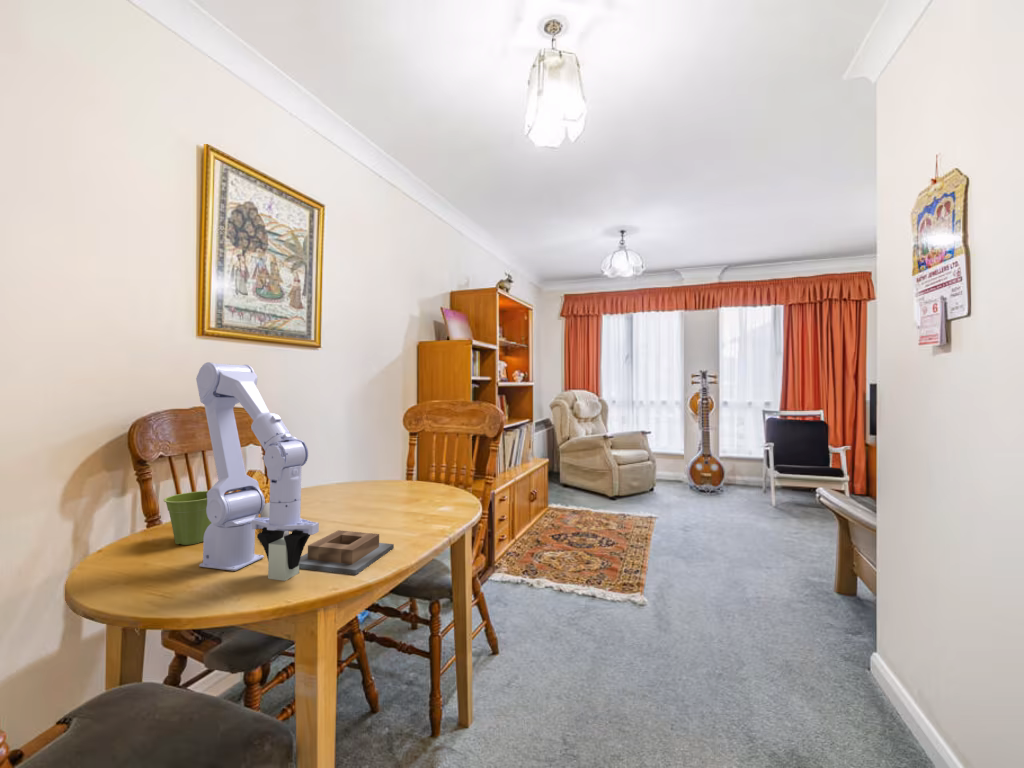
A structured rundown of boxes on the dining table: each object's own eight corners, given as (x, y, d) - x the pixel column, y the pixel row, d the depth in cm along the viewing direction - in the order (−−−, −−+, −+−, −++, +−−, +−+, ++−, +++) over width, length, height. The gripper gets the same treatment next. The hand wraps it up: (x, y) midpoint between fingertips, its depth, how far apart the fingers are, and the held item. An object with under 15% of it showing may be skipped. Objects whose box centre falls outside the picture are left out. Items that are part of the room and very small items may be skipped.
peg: (268, 578, 89) (268, 543, 89) (282, 570, 92) (283, 537, 93) (285, 580, 88) (285, 545, 88) (299, 572, 92) (299, 539, 92)
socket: (289, 567, 94) (289, 548, 94) (335, 542, 110) (335, 526, 110) (356, 574, 91) (356, 555, 91) (393, 548, 106) (394, 531, 106)
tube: (294, 526, 111) (283, 503, 131) (271, 522, 108) (264, 500, 129) (286, 547, 110) (276, 521, 131) (263, 544, 107) (257, 518, 128)
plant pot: (208, 530, 118) (208, 488, 118) (229, 538, 112) (230, 494, 112) (154, 542, 108) (155, 497, 109) (174, 552, 102) (175, 504, 102)
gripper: (239, 502, 88) (238, 570, 88) (302, 507, 85) (301, 577, 85) (266, 494, 95) (265, 557, 95) (325, 498, 92) (324, 564, 91)
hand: (284, 566), depth 90 cm, fingers closed on peg, 4 cm apart
